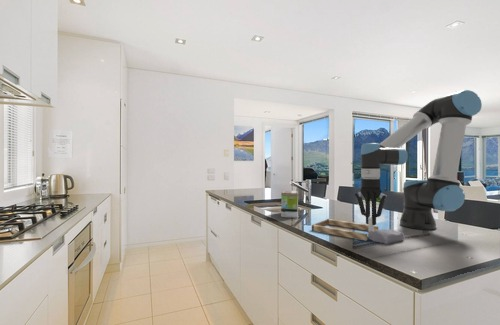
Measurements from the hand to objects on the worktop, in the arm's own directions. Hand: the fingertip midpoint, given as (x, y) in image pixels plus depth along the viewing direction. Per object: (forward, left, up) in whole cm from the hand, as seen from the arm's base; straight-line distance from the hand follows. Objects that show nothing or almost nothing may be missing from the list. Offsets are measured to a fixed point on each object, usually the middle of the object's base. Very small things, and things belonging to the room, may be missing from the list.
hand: (371, 231), depth 109 cm
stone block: (-6, +2, -2) cm, 6 cm away
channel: (+11, 0, -2) cm, 11 cm away
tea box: (+51, -15, -2) cm, 54 cm away
